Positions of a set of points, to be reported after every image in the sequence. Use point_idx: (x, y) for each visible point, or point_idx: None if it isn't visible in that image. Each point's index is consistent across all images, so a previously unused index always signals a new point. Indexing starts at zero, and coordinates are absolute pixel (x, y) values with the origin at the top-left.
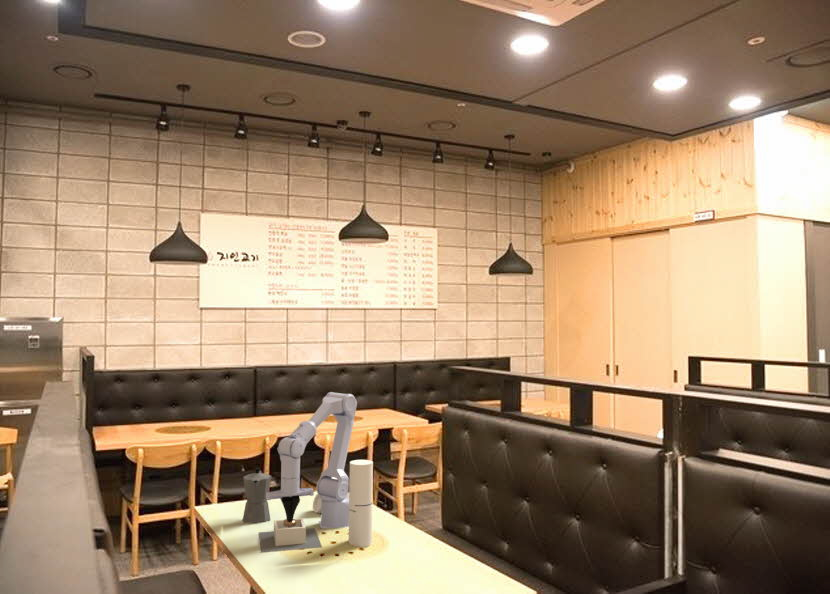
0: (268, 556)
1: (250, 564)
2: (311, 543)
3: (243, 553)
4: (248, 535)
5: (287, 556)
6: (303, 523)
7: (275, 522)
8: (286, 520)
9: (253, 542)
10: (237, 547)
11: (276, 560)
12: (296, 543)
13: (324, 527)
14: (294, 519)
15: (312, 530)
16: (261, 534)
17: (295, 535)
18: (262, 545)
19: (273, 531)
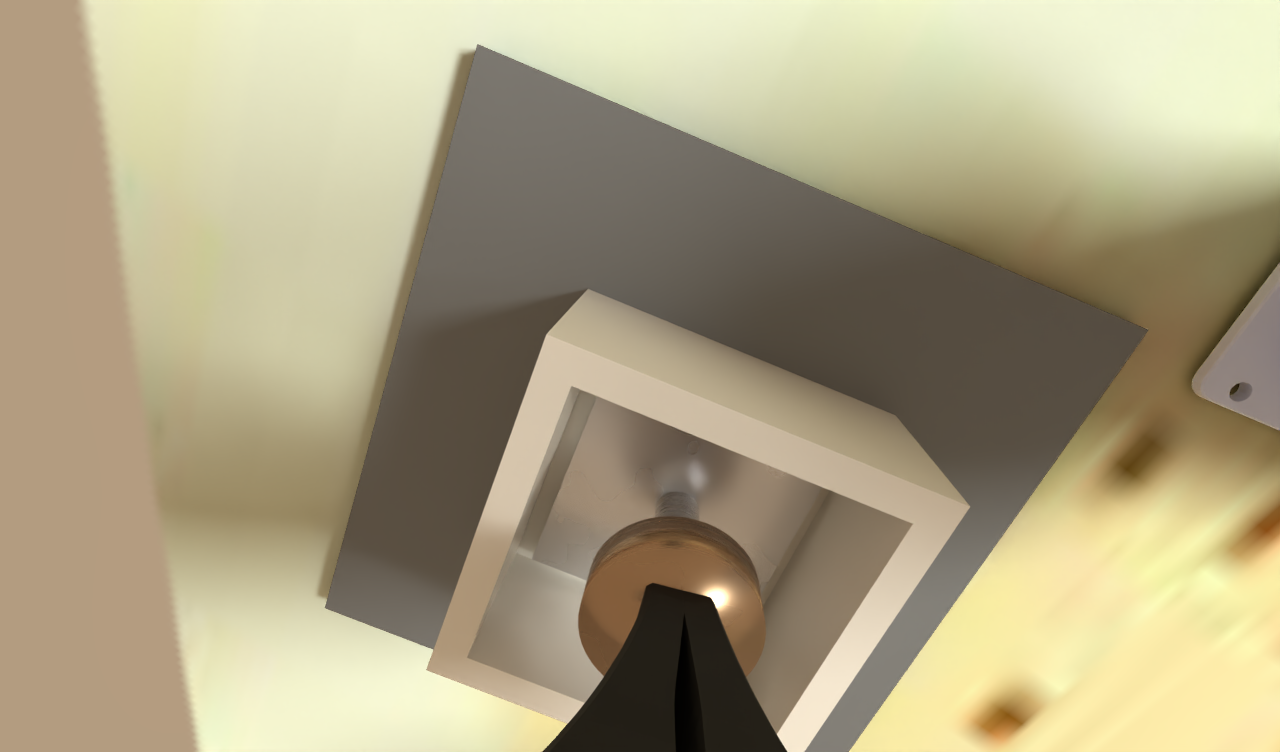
0: (380, 659)
1: (219, 704)
2: None
3: (209, 492)
4: (365, 9)
5: (509, 737)
6: (836, 682)
7: (530, 427)
8: (633, 599)
9: (356, 284)
10: (181, 323)
11: (408, 749)
12: None
13: (1255, 379)
14: (754, 632)
15: (1060, 387)
16: (483, 148)
17: None
18: (385, 474)
19: (653, 131)
